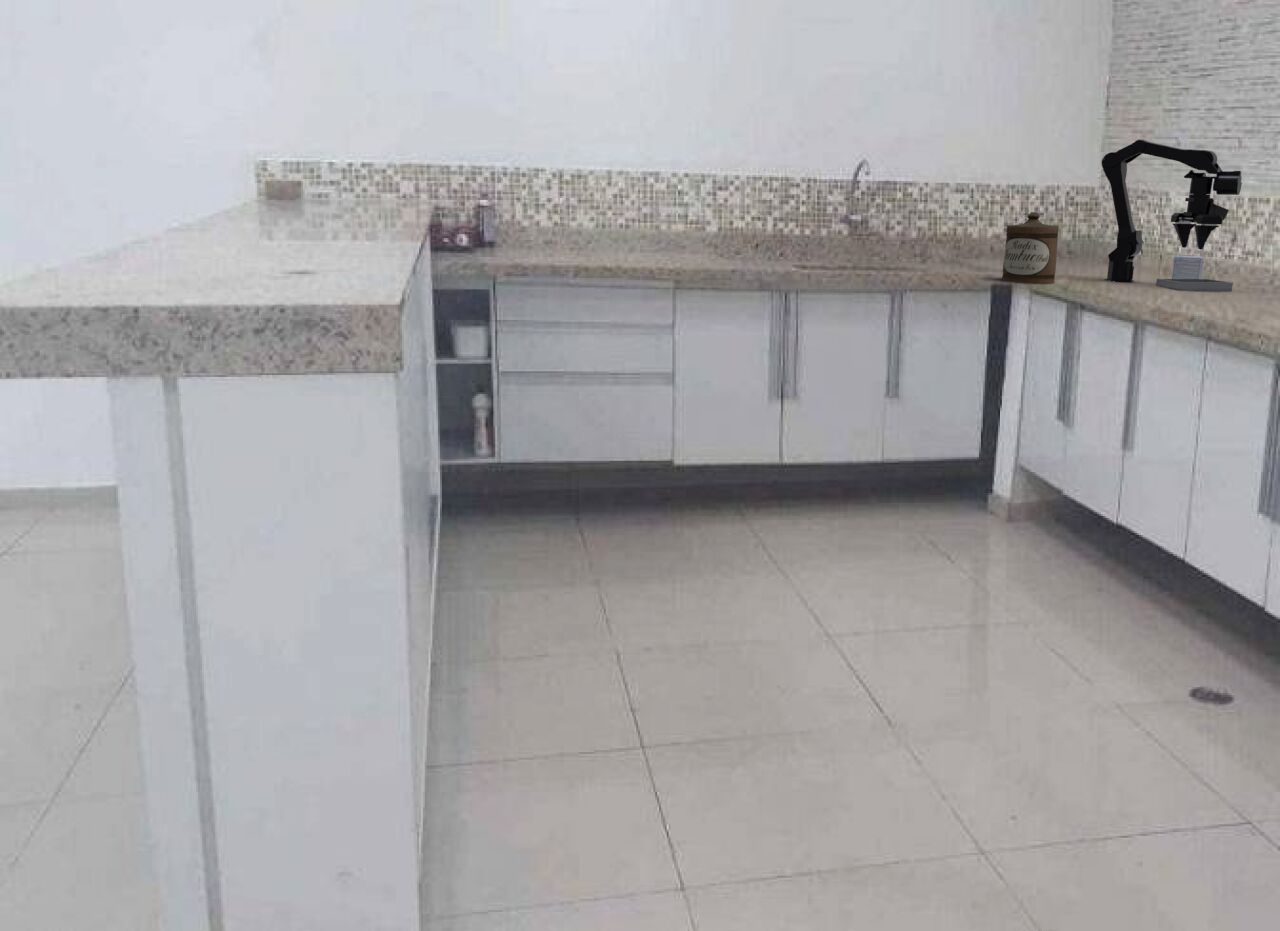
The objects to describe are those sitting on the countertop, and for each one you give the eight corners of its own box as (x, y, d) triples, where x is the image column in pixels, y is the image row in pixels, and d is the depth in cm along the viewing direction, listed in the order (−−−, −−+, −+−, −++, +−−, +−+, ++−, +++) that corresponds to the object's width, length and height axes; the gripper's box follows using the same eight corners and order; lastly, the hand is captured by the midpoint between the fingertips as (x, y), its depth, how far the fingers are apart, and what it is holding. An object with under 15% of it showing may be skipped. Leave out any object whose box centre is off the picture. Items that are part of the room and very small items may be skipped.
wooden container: (994, 287, 322) (1000, 211, 316) (1011, 284, 333) (1017, 211, 328) (1044, 290, 313) (1052, 212, 308) (1060, 287, 325) (1067, 212, 319)
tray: (1178, 290, 315) (1179, 282, 315) (1155, 287, 328) (1156, 278, 327) (1231, 291, 316) (1232, 282, 315) (1207, 287, 329) (1208, 279, 328)
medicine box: (1200, 284, 338) (1204, 256, 336) (1198, 285, 335) (1202, 257, 333) (1173, 283, 343) (1176, 255, 341) (1170, 284, 339) (1174, 256, 337)
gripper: (1244, 195, 309) (1236, 250, 313) (1209, 194, 328) (1201, 247, 331) (1206, 194, 309) (1198, 250, 313) (1173, 194, 327) (1166, 246, 331)
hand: (1192, 248), depth 322 cm, fingers open, 9 cm apart
